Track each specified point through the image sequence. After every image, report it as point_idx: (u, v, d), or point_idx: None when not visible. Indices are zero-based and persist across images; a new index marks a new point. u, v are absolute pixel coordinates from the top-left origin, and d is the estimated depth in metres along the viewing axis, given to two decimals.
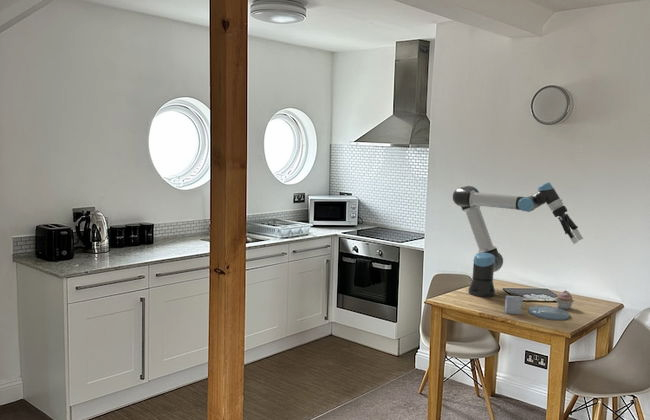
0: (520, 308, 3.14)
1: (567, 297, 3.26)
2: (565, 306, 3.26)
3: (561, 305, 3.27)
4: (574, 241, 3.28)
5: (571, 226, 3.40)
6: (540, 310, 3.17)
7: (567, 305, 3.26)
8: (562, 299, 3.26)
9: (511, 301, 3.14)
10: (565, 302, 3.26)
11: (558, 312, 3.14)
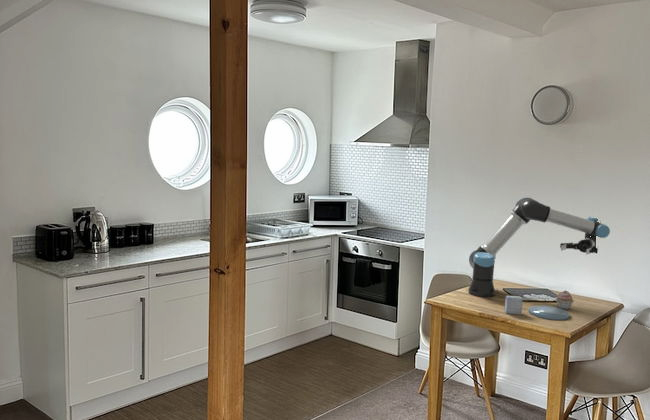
0: (520, 308, 3.14)
1: (567, 297, 3.26)
2: (565, 306, 3.26)
3: (561, 305, 3.27)
4: (588, 251, 3.29)
5: (569, 246, 3.43)
6: (540, 310, 3.17)
7: (567, 305, 3.26)
8: (562, 299, 3.26)
9: (511, 301, 3.14)
10: (565, 302, 3.26)
11: (558, 312, 3.14)
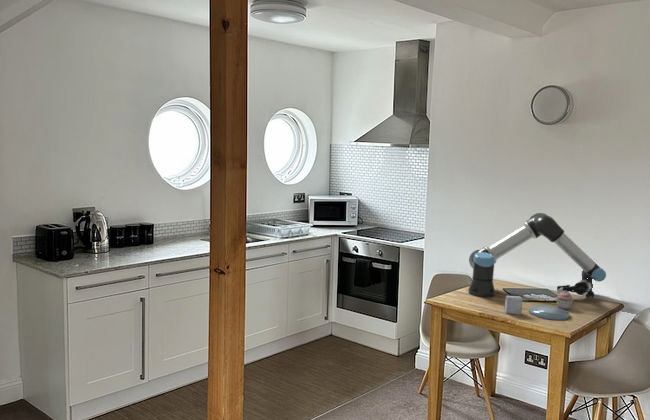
0: (520, 308, 3.14)
1: (567, 297, 3.26)
2: (565, 306, 3.26)
3: (561, 305, 3.27)
4: (584, 296, 3.33)
5: (565, 289, 3.47)
6: (540, 310, 3.17)
7: (567, 305, 3.26)
8: (562, 299, 3.26)
9: (511, 301, 3.14)
10: (565, 302, 3.26)
11: (558, 312, 3.14)
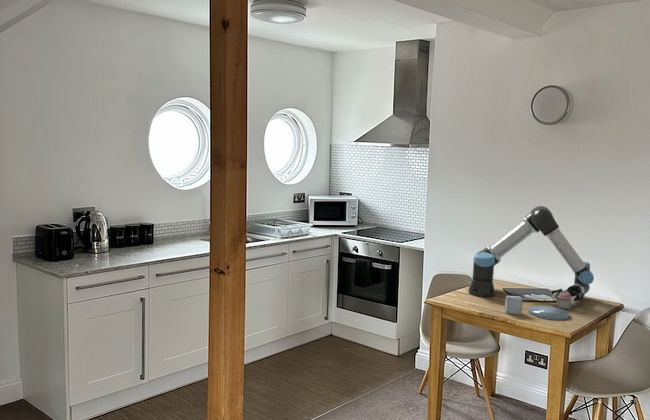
0: (520, 308, 3.14)
1: (567, 297, 3.26)
2: (565, 306, 3.26)
3: (561, 305, 3.27)
4: (572, 300, 3.23)
5: None
6: (540, 310, 3.17)
7: (567, 305, 3.26)
8: (562, 299, 3.26)
9: (511, 301, 3.14)
10: (565, 302, 3.26)
11: (558, 312, 3.14)
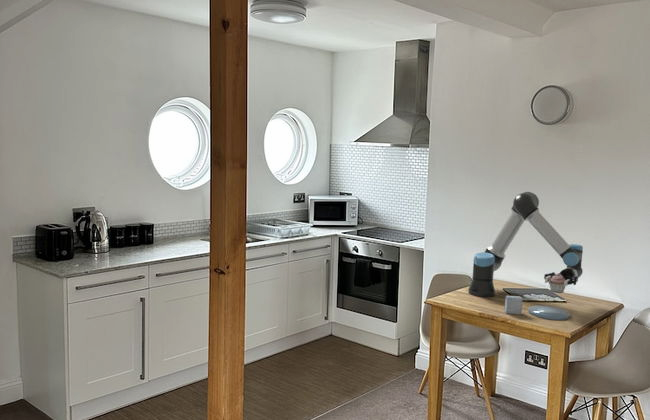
0: (520, 308, 3.14)
1: (560, 280, 3.14)
2: (558, 290, 3.15)
3: (554, 288, 3.15)
4: (566, 283, 3.11)
5: None
6: (540, 310, 3.17)
7: (560, 289, 3.14)
8: (555, 282, 3.14)
9: (511, 301, 3.14)
10: (558, 285, 3.14)
11: (558, 312, 3.14)
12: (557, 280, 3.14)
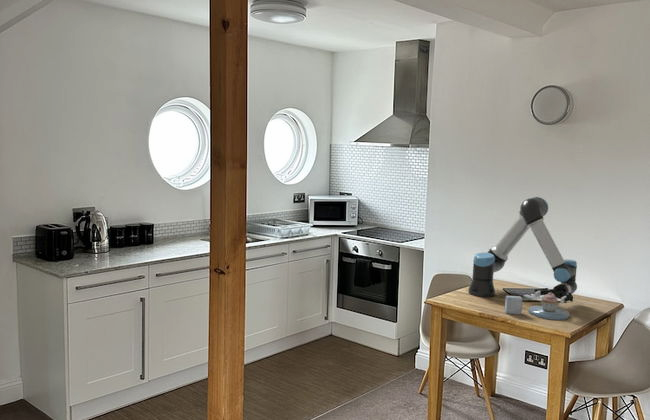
0: (520, 308, 3.14)
1: (552, 299, 3.13)
2: (550, 309, 3.13)
3: (545, 307, 3.14)
4: (562, 300, 3.10)
5: (543, 292, 3.24)
6: (540, 310, 3.17)
7: (552, 308, 3.13)
8: (547, 301, 3.13)
9: (511, 301, 3.14)
10: (550, 304, 3.12)
11: (558, 312, 3.14)
12: (549, 299, 3.13)
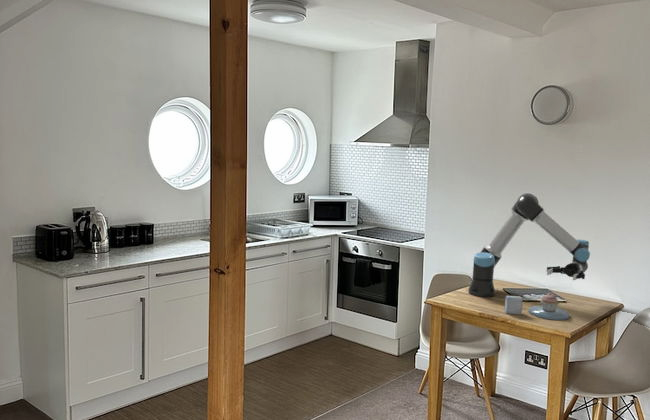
0: (520, 308, 3.14)
1: (552, 299, 3.13)
2: (550, 309, 3.13)
3: (545, 307, 3.14)
4: (575, 277, 3.18)
5: (555, 270, 3.32)
6: (540, 310, 3.17)
7: (552, 308, 3.13)
8: (547, 301, 3.13)
9: (511, 301, 3.14)
10: (550, 305, 3.12)
11: (558, 312, 3.14)
12: (549, 299, 3.13)
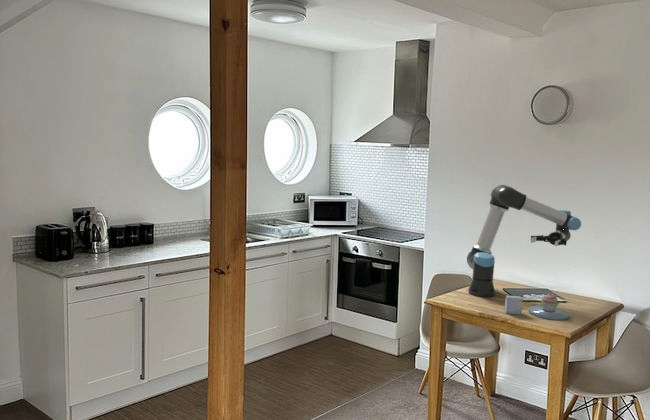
0: (520, 308, 3.14)
1: (552, 299, 3.13)
2: (550, 309, 3.13)
3: (546, 307, 3.14)
4: (556, 243, 3.34)
5: (539, 238, 3.48)
6: (540, 310, 3.17)
7: (552, 308, 3.13)
8: (547, 301, 3.13)
9: (511, 301, 3.14)
10: (550, 304, 3.12)
11: (558, 312, 3.14)
12: (549, 299, 3.13)
